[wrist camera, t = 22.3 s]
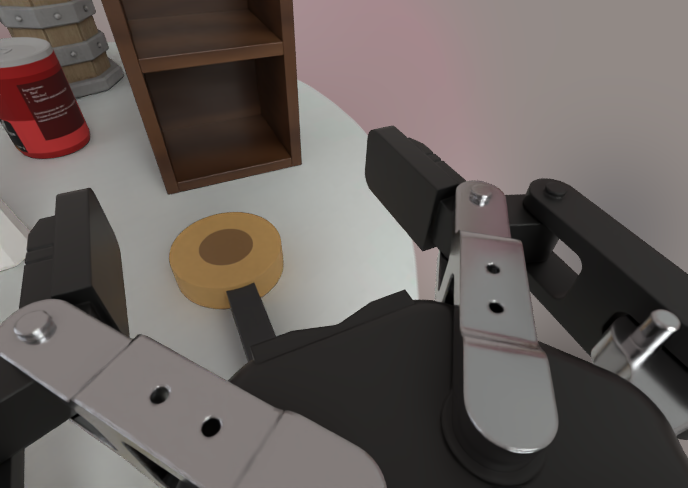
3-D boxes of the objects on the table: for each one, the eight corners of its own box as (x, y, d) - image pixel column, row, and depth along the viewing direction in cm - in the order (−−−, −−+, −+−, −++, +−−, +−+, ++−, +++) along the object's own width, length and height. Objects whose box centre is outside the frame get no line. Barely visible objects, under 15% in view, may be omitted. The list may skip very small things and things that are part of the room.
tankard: (103, 60, 69) (63, -47, 59) (134, 83, 62) (95, -32, 52) (-38, 92, 59) (-117, -31, 48) (-19, 123, 52) (-105, -11, 42)
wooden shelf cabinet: (311, 178, 45) (295, -260, 24) (172, 211, 40) (-6, -300, 19) (268, 117, 56) (230, -227, 34) (153, 137, 51) (25, -247, 29)
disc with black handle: (170, 248, 37) (162, 227, 35) (266, 223, 39) (263, 202, 38) (220, 476, 23) (210, 460, 21) (359, 412, 26) (361, 394, 24)
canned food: (29, 131, 51) (-24, 38, 43) (97, 125, 53) (58, 34, 45) (9, 164, 46) (-55, 64, 38) (86, 156, 47) (39, 58, 40)
